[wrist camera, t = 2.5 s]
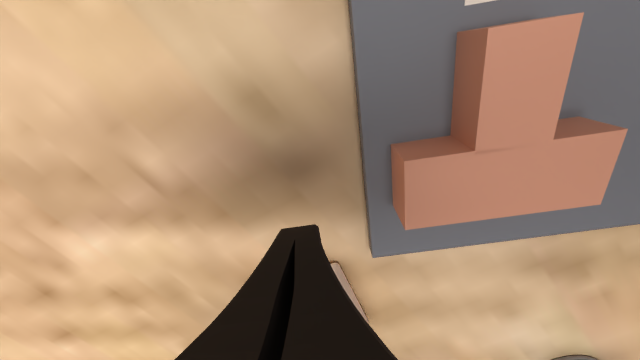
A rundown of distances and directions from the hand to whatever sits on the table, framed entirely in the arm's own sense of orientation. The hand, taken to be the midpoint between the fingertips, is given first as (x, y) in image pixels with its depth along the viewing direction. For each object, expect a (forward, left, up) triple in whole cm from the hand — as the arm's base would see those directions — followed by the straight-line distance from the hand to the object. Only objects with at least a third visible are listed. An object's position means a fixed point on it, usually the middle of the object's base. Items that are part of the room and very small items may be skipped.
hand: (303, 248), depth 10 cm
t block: (-10, -1, -6) cm, 12 cm away
